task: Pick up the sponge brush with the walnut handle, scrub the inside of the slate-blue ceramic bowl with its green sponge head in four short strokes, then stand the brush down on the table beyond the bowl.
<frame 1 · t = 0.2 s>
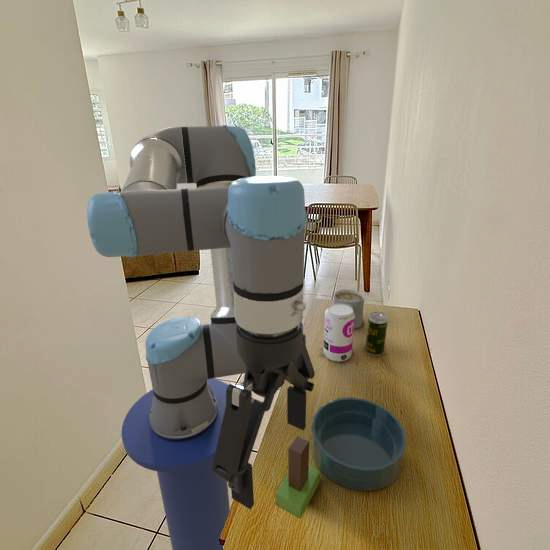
hand: (272, 459, 48), 21 cm above the table, tool pointing down, fingers open, 13 cm apart
bowl: (355, 451, 73), on the table
supplement can: (337, 355, 105), on the table
sponge brush: (298, 493, 65), on the table
coffee mug: (346, 324, 121), on the table
beer can: (374, 351, 106), on the table
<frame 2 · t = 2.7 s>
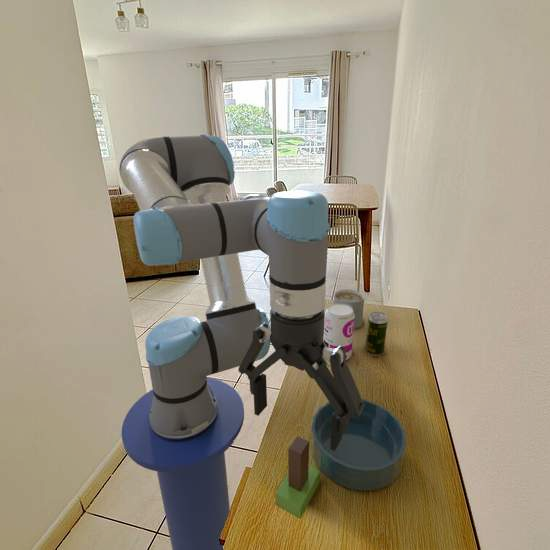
hand: (296, 426, 57), 18 cm above the table, tool pointing down, fingers open, 13 cm apart
nothing on the table moved.
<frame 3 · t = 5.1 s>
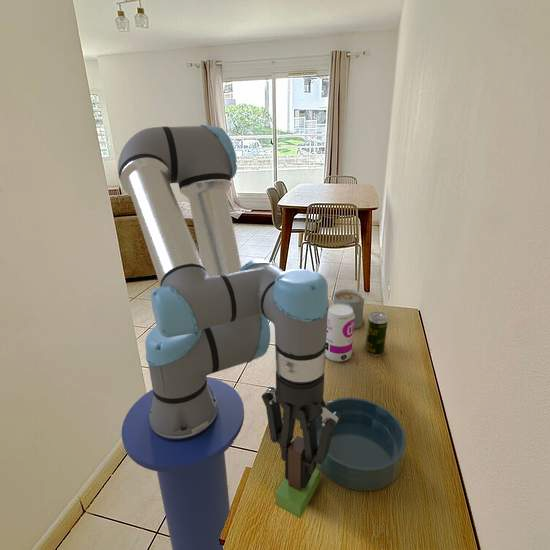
hand: (298, 477, 63), 4 cm above the table, tool pointing down, fingers closed on sponge brush, 2 cm apart
sponge brush: (298, 492, 65), on the table, touching gripper
everything else where it was.
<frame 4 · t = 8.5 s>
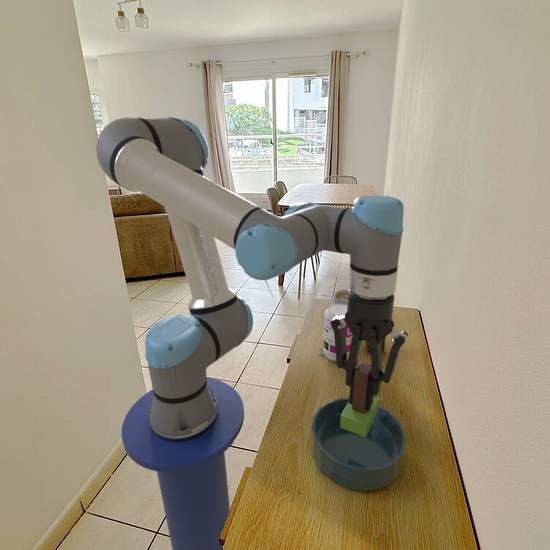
hand: (361, 402, 68), 13 cm above the table, tool pointing down, fingers closed on sponge brush, 2 cm apart
sponge brush: (359, 418, 70), point 9 cm above the table, touching gripper
everything else where it was.
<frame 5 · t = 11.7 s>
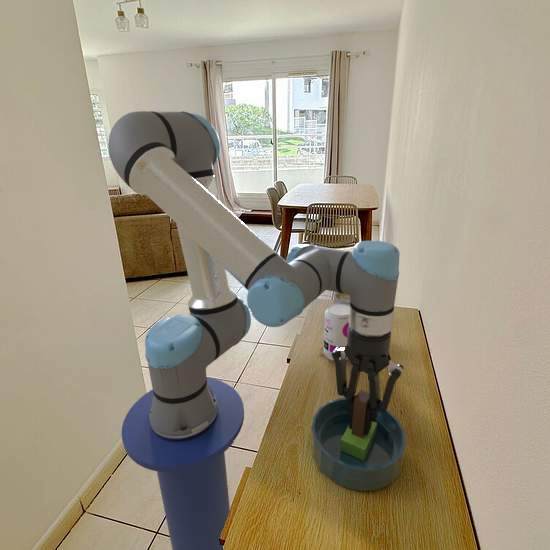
hand: (360, 427, 73), 5 cm above the table, tool pointing down, fingers closed on sponge brush, 2 cm apart
sponge brush: (358, 441, 74), point 1 cm above the table, touching gripper
everything else where it was.
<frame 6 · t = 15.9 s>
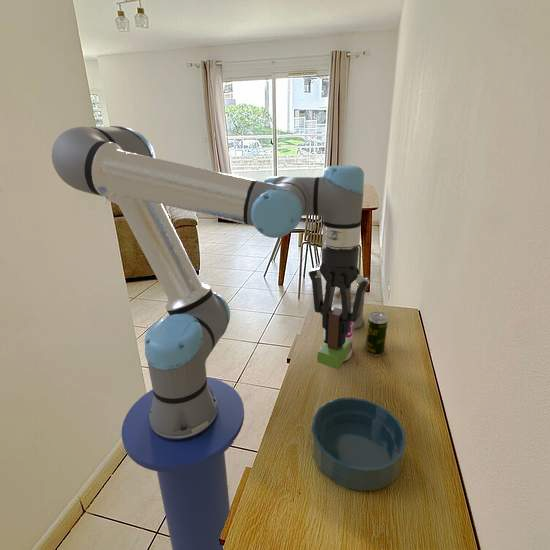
hand: (335, 342, 82), 16 cm above the table, tool pointing down, fingers closed on sponge brush, 2 cm apart
sponge brush: (334, 356, 83), point 12 cm above the table, touching gripper
everything else where it was.
when the fingers open (4 cm above the table, at t = 18.8 s): sponge brush stays where it is, on the table.
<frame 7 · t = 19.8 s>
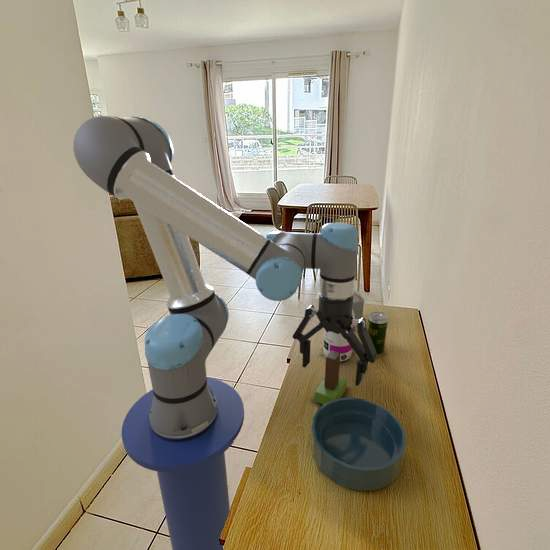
hand: (331, 373, 86), 7 cm above the table, tool pointing down, fingers open, 13 cm apart
sponge brush: (330, 395, 89), on the table
everything else where it was.
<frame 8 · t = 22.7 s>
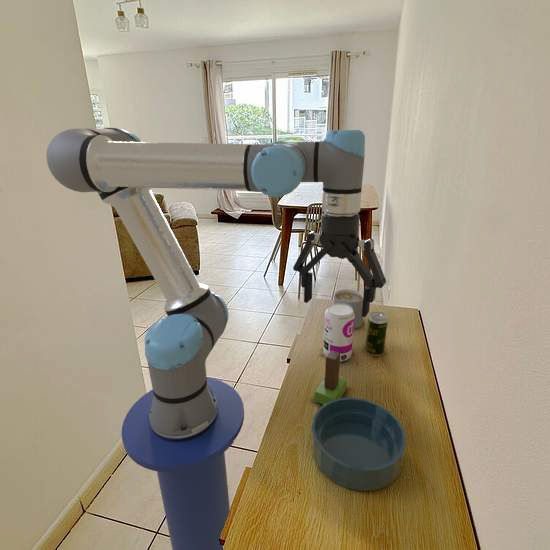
hand: (335, 307, 79), 25 cm above the table, tool pointing down, fingers open, 13 cm apart
nothing on the table moved.
at the end: sponge brush inside the target area (0.1 cm from its centre), on the table; sponge brush tilted 0°; bowl moved 0.0 cm from its start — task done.
